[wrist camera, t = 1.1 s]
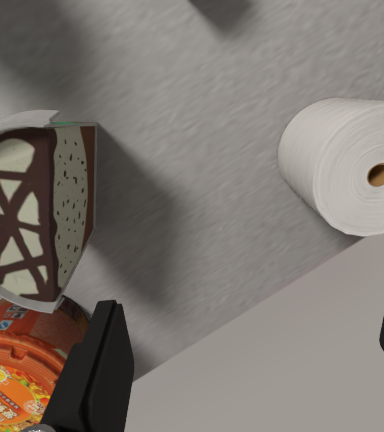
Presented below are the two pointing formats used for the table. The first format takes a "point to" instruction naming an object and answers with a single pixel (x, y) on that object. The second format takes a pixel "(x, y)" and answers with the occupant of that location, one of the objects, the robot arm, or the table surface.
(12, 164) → the food container
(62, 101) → the table surface
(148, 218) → the table surface
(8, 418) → the food container
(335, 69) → the table surface
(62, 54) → the table surface
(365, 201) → the toilet tissue
